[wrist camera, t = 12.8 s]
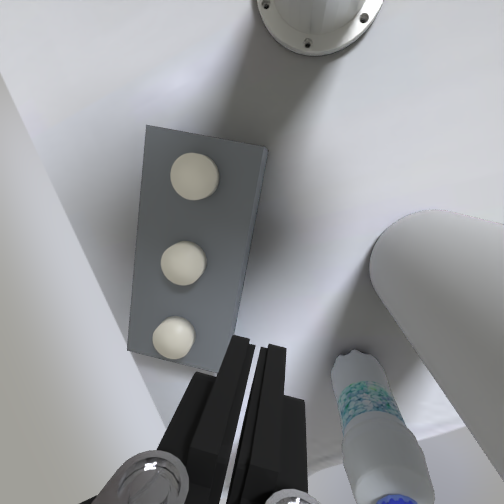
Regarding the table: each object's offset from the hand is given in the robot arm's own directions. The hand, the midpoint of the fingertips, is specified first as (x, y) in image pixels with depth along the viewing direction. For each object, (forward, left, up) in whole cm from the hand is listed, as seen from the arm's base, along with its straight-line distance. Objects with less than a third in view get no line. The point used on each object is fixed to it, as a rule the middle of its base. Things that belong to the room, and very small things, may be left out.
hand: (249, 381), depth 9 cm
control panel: (+5, -9, -28) cm, 30 cm away
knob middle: (+5, -9, -28) cm, 30 cm away
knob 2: (+14, -9, -28) cm, 32 cm away
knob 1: (-4, -9, -28) cm, 29 cm away
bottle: (+16, +13, -29) cm, 35 cm away
